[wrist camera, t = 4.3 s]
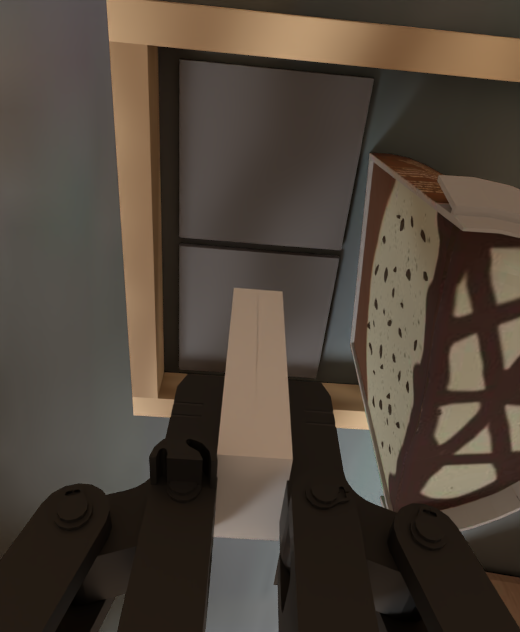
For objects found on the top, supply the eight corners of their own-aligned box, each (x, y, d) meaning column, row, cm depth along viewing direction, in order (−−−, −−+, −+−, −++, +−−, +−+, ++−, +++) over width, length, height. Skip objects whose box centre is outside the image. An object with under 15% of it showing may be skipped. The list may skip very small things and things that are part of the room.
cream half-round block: (467, 366, 25) (571, 547, 17) (347, 367, 25) (392, 550, 17) (535, 109, 19) (763, 199, 10) (373, 112, 19) (468, 203, 10)
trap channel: (141, 388, 26) (132, 419, 24) (121, -4, 17) (103, -4, 15) (684, 423, 28) (716, 454, 26) (941, 82, 18) (1022, 92, 16)
